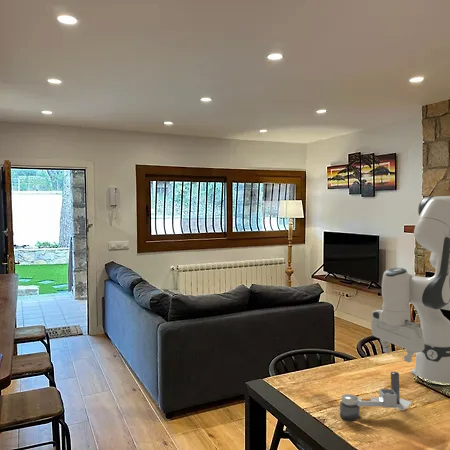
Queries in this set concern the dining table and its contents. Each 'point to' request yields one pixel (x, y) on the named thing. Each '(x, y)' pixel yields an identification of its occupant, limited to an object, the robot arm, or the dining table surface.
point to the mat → (403, 404)
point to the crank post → (349, 412)
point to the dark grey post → (395, 384)
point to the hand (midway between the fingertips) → (397, 356)
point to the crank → (372, 399)
